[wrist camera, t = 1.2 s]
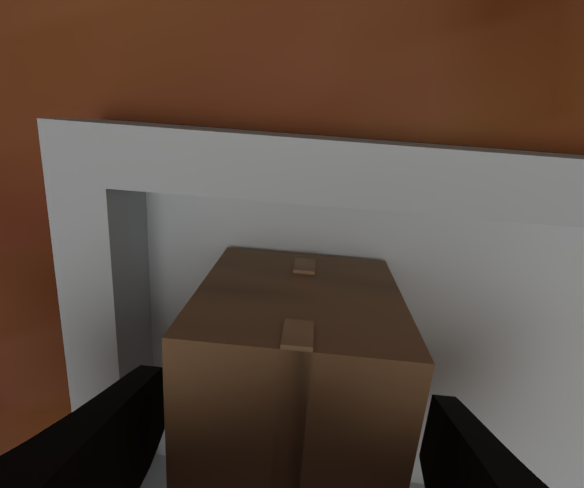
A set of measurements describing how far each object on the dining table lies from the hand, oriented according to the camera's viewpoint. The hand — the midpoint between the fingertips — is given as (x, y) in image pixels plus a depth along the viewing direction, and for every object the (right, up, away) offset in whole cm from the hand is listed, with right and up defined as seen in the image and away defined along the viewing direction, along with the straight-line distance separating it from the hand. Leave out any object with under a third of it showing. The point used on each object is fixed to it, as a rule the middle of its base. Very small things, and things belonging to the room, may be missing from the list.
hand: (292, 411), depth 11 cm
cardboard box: (0, +1, +3) cm, 3 cm away
